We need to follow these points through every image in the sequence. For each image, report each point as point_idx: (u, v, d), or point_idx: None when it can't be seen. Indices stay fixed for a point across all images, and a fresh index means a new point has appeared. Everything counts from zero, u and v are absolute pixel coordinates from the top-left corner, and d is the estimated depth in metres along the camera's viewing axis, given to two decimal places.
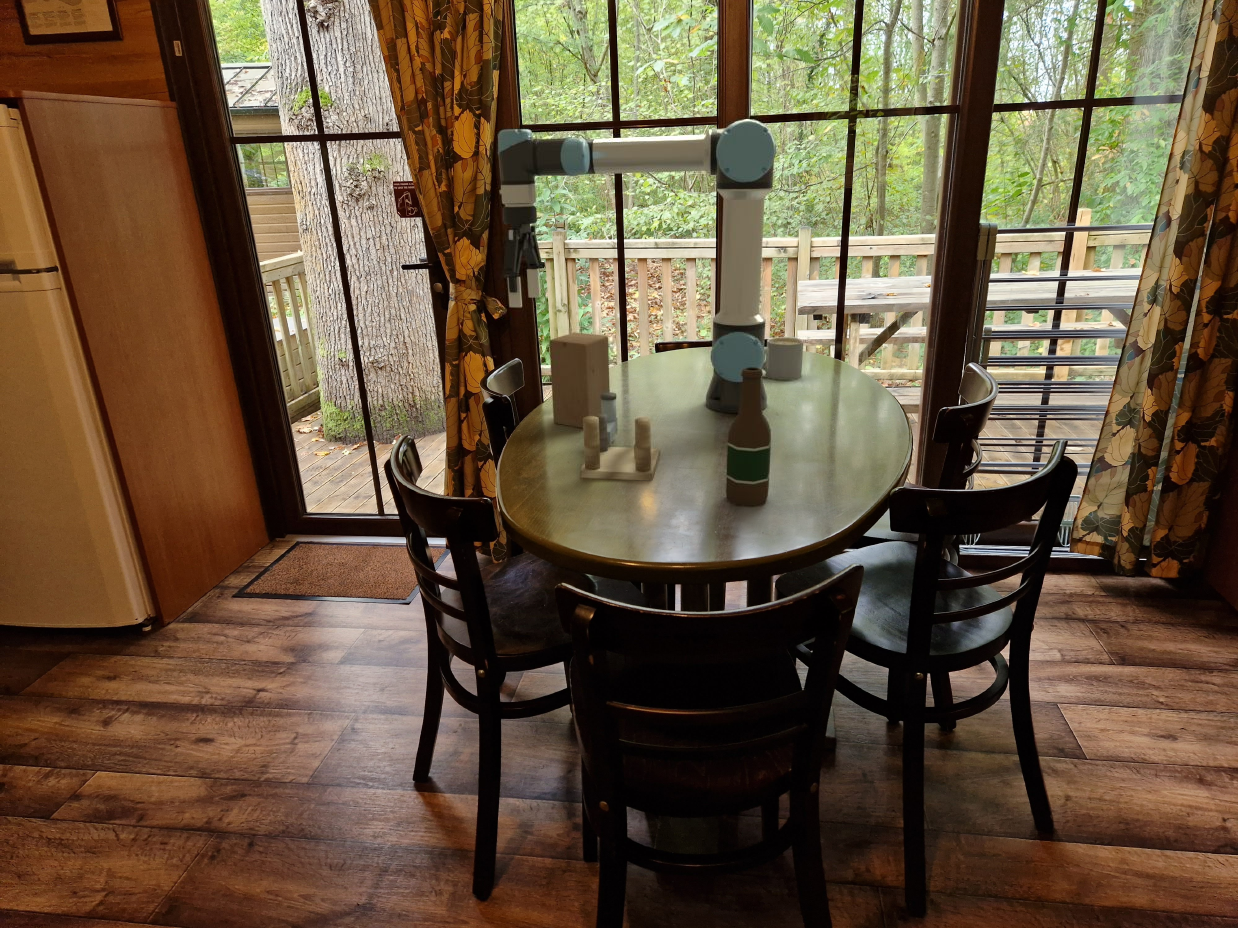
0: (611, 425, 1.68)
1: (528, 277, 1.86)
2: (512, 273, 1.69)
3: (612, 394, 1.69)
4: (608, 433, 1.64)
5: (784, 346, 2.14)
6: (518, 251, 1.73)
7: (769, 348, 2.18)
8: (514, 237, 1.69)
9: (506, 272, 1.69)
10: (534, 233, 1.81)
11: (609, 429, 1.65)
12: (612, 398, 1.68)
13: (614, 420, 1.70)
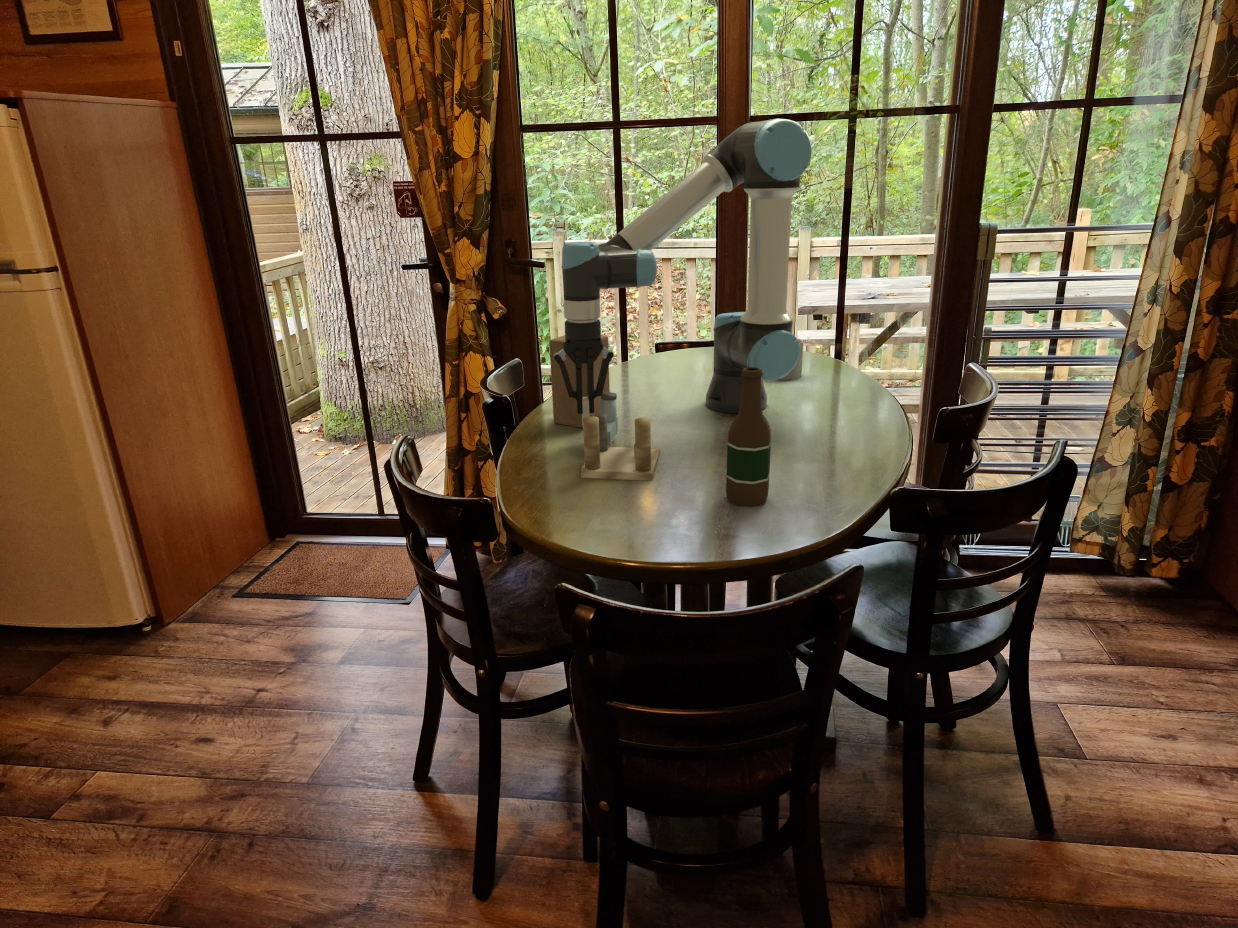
0: (611, 425, 1.68)
1: None
2: None
3: (612, 394, 1.69)
4: (608, 433, 1.64)
5: None
6: (575, 371, 1.66)
7: None
8: (557, 362, 1.65)
9: None
10: (607, 358, 1.65)
11: (609, 429, 1.65)
12: (612, 398, 1.68)
13: (614, 420, 1.70)
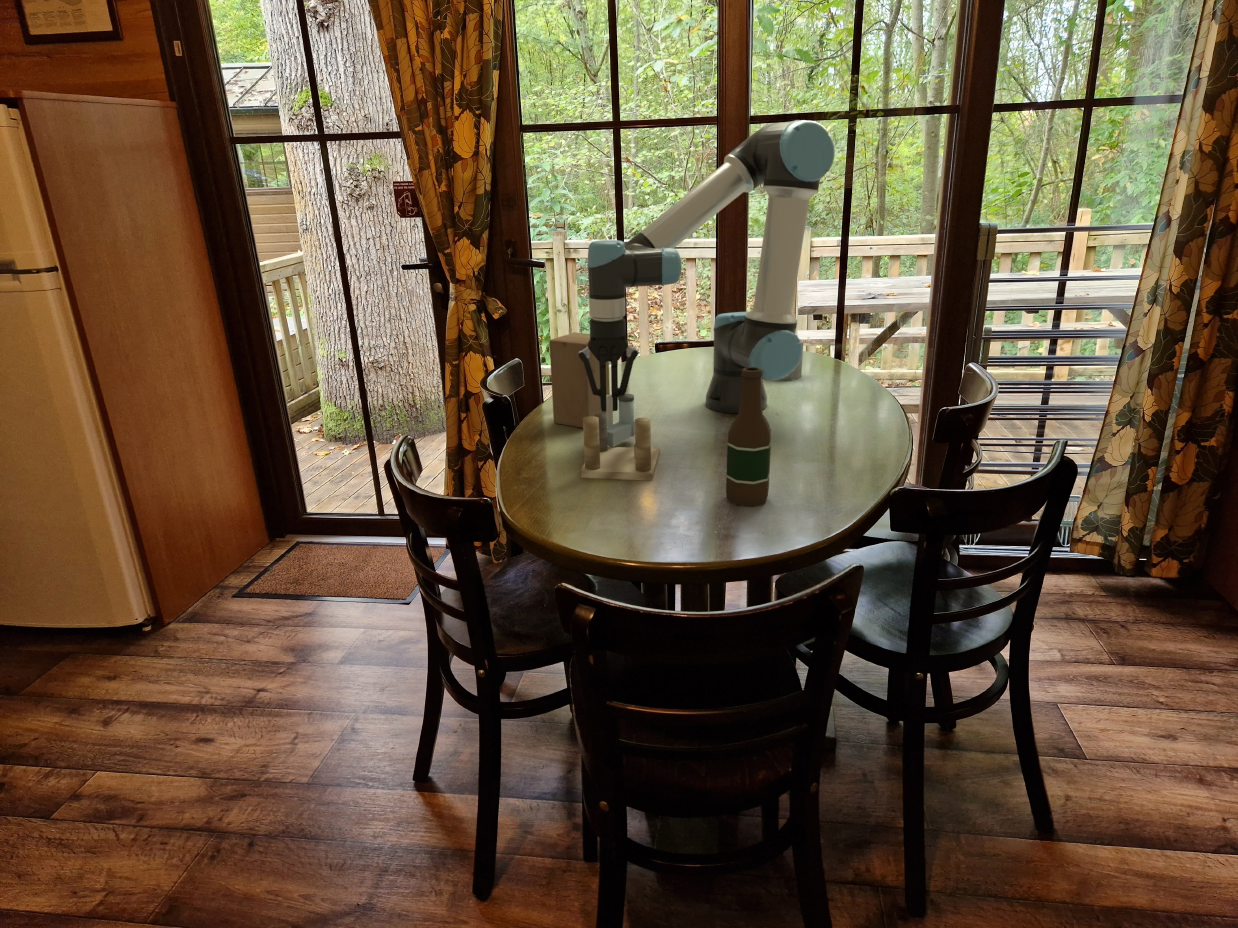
0: (622, 427, 1.66)
1: None
2: (592, 392, 1.68)
3: (629, 396, 1.67)
4: (611, 434, 1.63)
5: None
6: None
7: None
8: None
9: None
10: (631, 357, 1.66)
11: (615, 430, 1.64)
12: (627, 400, 1.66)
13: (629, 422, 1.68)
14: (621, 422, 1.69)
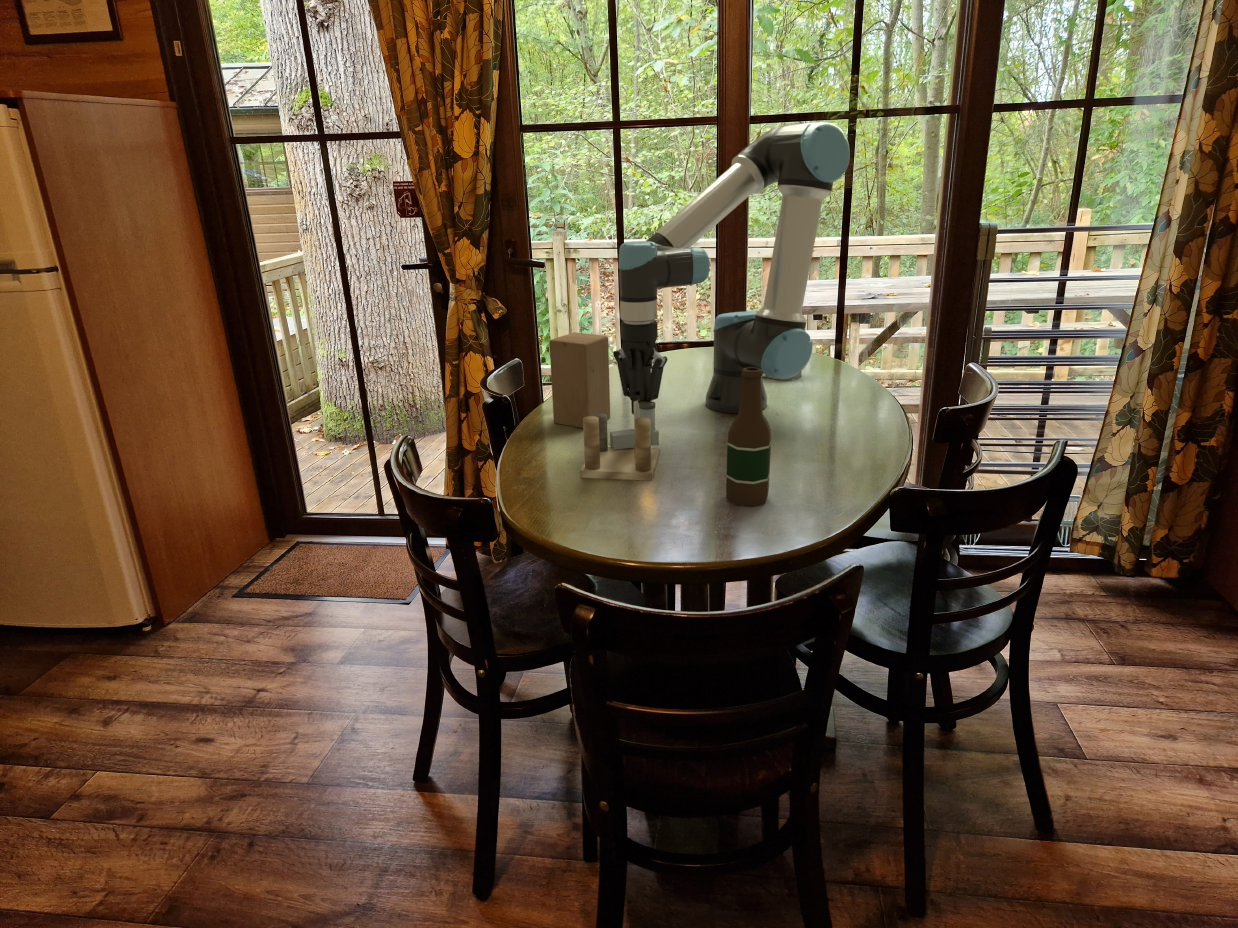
0: (632, 433, 1.62)
1: None
2: None
3: (648, 404, 1.61)
4: (612, 437, 1.61)
5: None
6: None
7: None
8: None
9: None
10: (654, 364, 1.59)
11: (619, 434, 1.62)
12: (642, 407, 1.61)
13: None
14: None
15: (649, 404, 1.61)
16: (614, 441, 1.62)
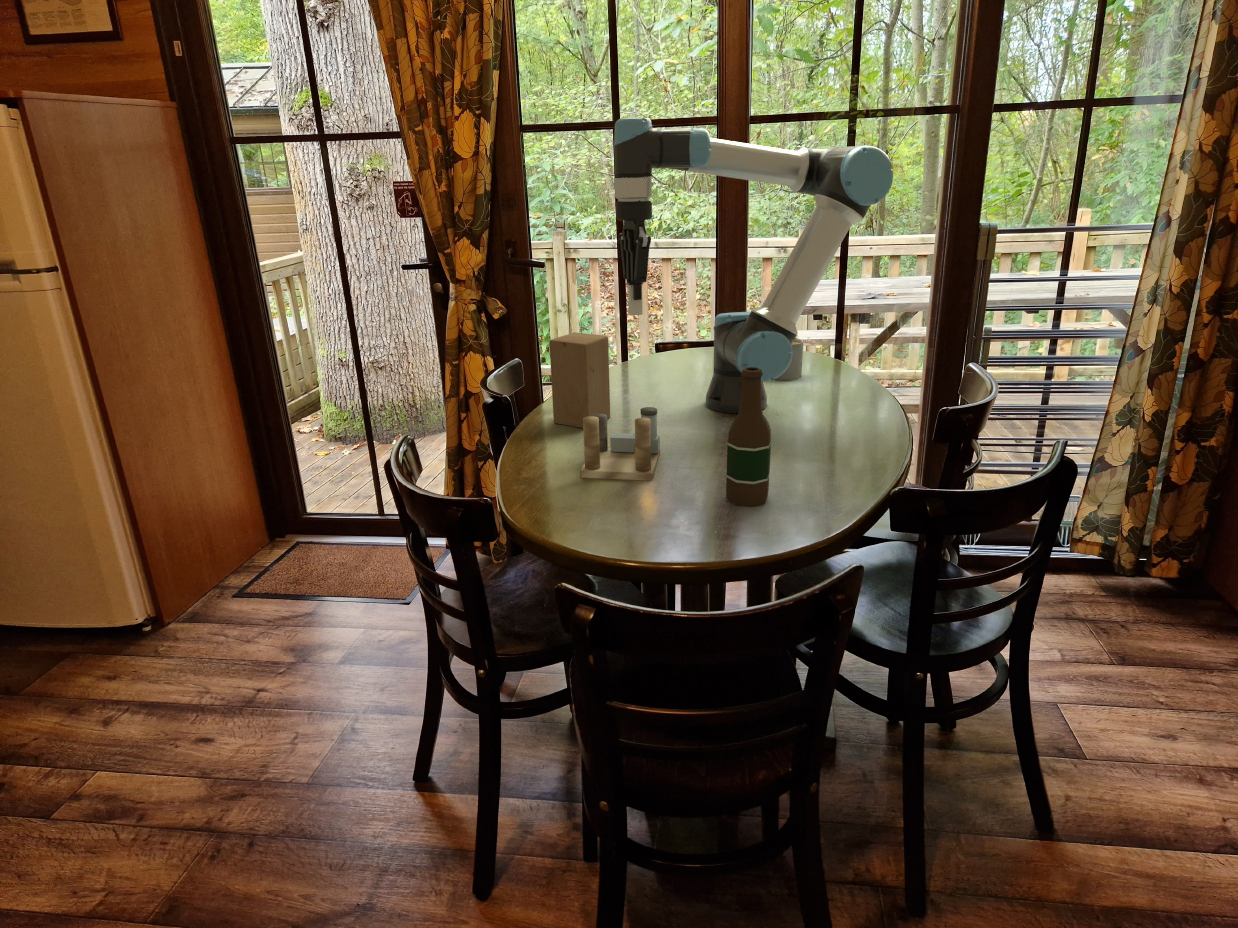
0: (631, 437, 1.60)
1: None
2: None
3: (648, 410, 1.57)
4: None
5: None
6: None
7: None
8: None
9: None
10: (637, 243, 1.60)
11: (617, 437, 1.60)
12: (641, 413, 1.57)
13: None
14: None
15: (649, 410, 1.57)
16: (611, 443, 1.61)
